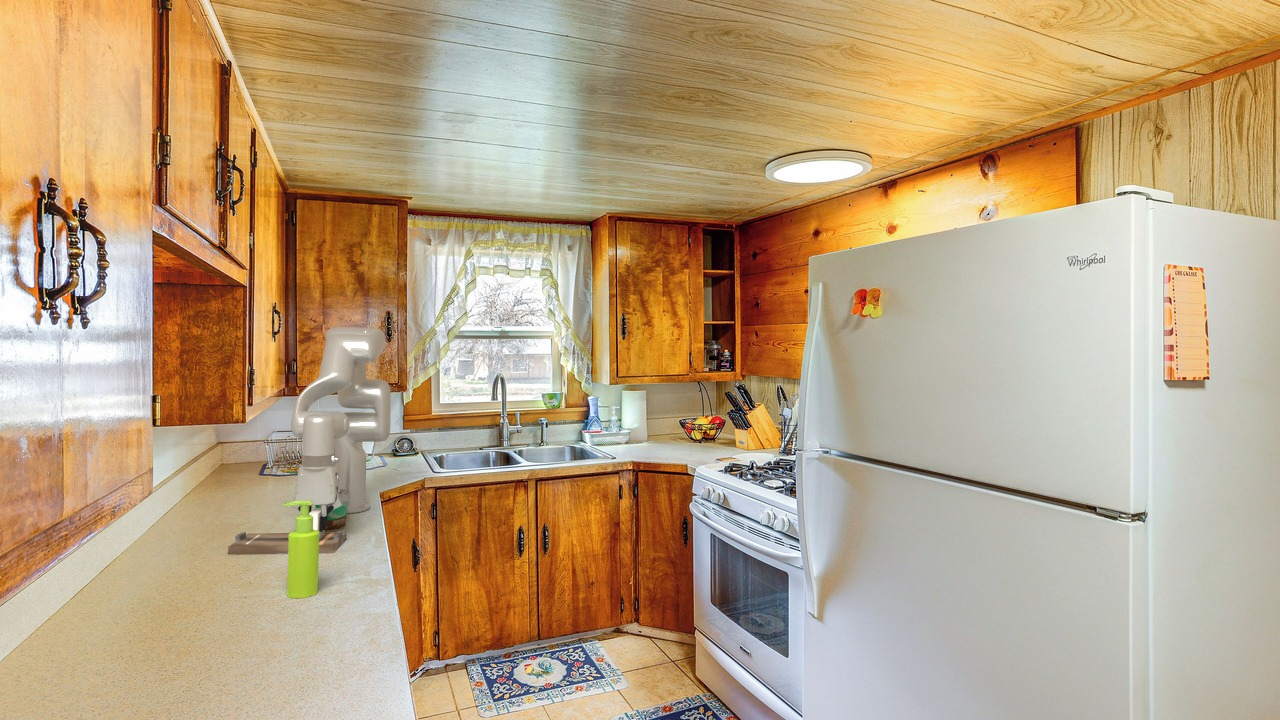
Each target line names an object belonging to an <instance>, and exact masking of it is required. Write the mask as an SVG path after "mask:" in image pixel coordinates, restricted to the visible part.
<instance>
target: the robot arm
mask: <svg viewBox="0 0 1280 720" xmlns="http://www.w3.org/2000/svg"><path fill="white" fill-rule="evenodd" d="M385 346H386V335H385V333H384V331H383V330H382V329H380V328H377V327H357V326H356V327H355V326H335V327H330V328H328V329H327V330H326V332H325V345H324V349H323V355H322V360H321V364H320V368H319V369H320V370H319V375H318V378H317V379H315V380H314V381H312V382H310V383H309V384H308V385H307V386H306V387H305V388H304V389H303V390H302V391H301V392H300V394H299V395H298V396H297V399H296V400H295V403H294V408H293V412H292V417H291V423H290V429H291V432H292V434H293V436H294V437H296V438H298V439H302V448H301V449H302V450H301V451H302V454H301V455H302V456H301V465H300V466H299V468H298V471H297V474H296V475H297V476H296V482H295V487H294V489H295V490H294V497H293V499H292V501H298V500H309V501H312V505H309V513H310V512H311V511H312V510H313V509H312V508H313V506H315V505H321V509H322V514H321V517H320V518H319V531H320V532H322V531H324V530H325V528H326V527H327V522H328V514H329V513H330V512H331V511H332V510H333V509H336V508H338V507H340V506H342V504H343V503H342V501H341V499H340V497H339V492H340V489H345V490H348V491H349V493H350V497H351V499H350V500H348V507H347V514H355V513H361V512H365V511H368V510H370V508H371V504H370V503H369V502H367V501H366V486H367V484H366V483H367V482H366V481H367V453H366V451H365V449H364V448H363V447H362V445H361V444H360V443H362V442H364V443H365V442H366V443H367V442H369V443H371V442H372V443H375V442H378V443H379V442H384V441H386V440H388V438H390V434H391V419H392V418H391V417H392V416H391V412H392V410H391V409H392V406H391V404H392V403H391V402H392V401H391V397H392V396H391V388H390V384H389V383H388V382H387V381H385V380H383V379H373V378H372V379H368V377H367V364H370V363H375V362H376V361H377V360H378V359H379V357H380V356H381V354H382V353H383V352H384V350H385ZM335 393H337V402H338V405H339V406H340V407H343V408H344V409H345V408H346V409H367V410H368V409H369V410H370V409H371V410H373V411H374V412H364V411H363V412H362V411H360V412H359V411H349V412H348V411H345V412H341V411H336V410H335V411H334V410H333V411H330V410H329V411H328V410H309V409H310V407H311V406H312V405H313V403H316V402H317V401H319V400H320V399H322V398H325V397H327V396H330V395H333V394H335ZM334 502H335V504H333V503H334ZM330 504H333V505H331V506H330V507H329V505H330ZM290 507H291V508H293V509H295V510H298V511H299V512H300V505H294V506H290Z"/></svg>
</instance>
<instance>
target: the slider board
mask: <svg viewBox="0 0 1280 720" xmlns="http://www.w3.org/2000/svg"><path fill="white" fill-rule="evenodd" d="M289 533H290V532H278V533H277V532H276V533H275V532H272V533H271V532H267V533H266V532H265V533H262V532H260V533H255V532H254V533H247V532H246V531H243V532H240V533H238V534H236V535H235V536H234V537H235V541H234V542H233V543H232V544H230V545H229V546H228V548H227V550H228V552H227V555H228V554H237V555H278V554H277V553H288V541H289ZM346 540H347V532H345V531H343V530H338V531H337V532H325V536H323V537H322V538H321V539H320V540H319V554H334V553H335V552H336V551H337V550H338V549H339V548H340V547H341V546H342V545H343V544H344V543H345V541H346Z"/></svg>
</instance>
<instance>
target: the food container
mask: <svg viewBox="0 0 1280 720" xmlns="http://www.w3.org/2000/svg"><path fill="white" fill-rule="evenodd" d="M339 497H340V499H341V501H342V503H343V504H342V506H340V507H338V508H336V509H333V510H332V511H331V512H330V513H329V514H328V522H327V527H326V528H325V530H330V531H336V530H335V529H337V530H340V528H341V529H343V528H345V527H346V524H347V523H346V522H347V516H348V515H347V514H348V513H347V507H348V500H350V499H351V497H350V493H349V491H348V490H345V489H340V492H339ZM333 504H335V502H334V503H333ZM333 504H330V505H329V507H330V506H331V505H333ZM314 506H315V508H321V505H314ZM315 508H314V509H315ZM344 526H345V527H344ZM342 527H343V528H342Z"/></svg>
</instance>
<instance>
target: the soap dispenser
mask: <svg viewBox="0 0 1280 720" xmlns="http://www.w3.org/2000/svg"><path fill="white" fill-rule="evenodd" d="M294 505H300V511H299V515H298V516H296V517H295V527H294V528H295V529H294V531H291V532H288V533H289V541H288V554H287V577H286V578H287V583H286V588H287V589H286V596H287V597H288V598H290V599H294V598H299V599H305V598H306V597H307V598H310V596H311V597H313V596H316V595H317V593H319V592H318V591H319V590H318V588H319V558H320V557H319V556H320V555H319V554H320V553H319V531H317V530H313V516H312V515H310V514H309V505H312V501H309V500H298V501H293V500H291V501H289V502H285V503H283V507H285V508H287V507H288V508H289V507H291V506H294ZM312 506H313V505H312Z"/></svg>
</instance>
